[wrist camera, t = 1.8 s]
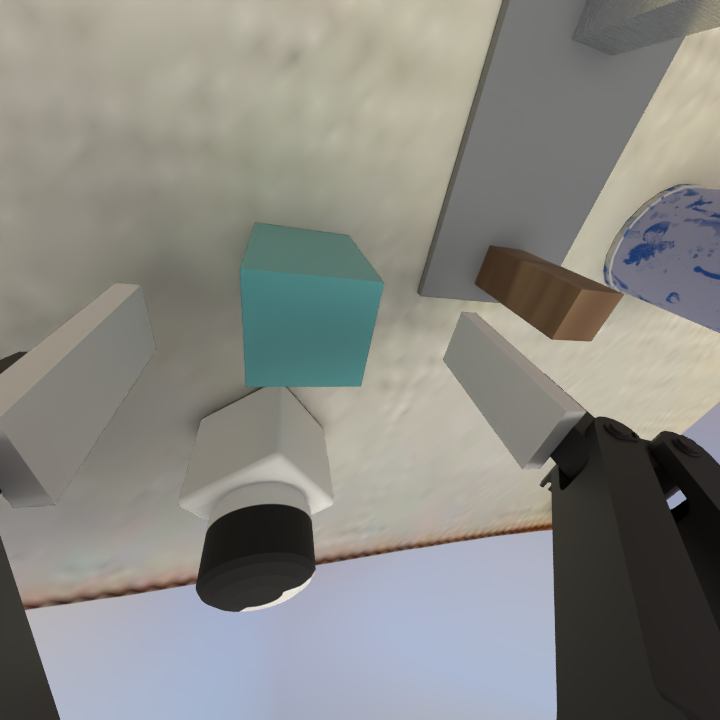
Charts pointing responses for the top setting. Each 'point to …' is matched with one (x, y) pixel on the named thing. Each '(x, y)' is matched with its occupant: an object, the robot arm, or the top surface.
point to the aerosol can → (672, 254)
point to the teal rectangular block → (306, 308)
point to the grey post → (642, 22)
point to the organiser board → (537, 142)
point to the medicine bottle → (257, 499)
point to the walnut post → (546, 294)
